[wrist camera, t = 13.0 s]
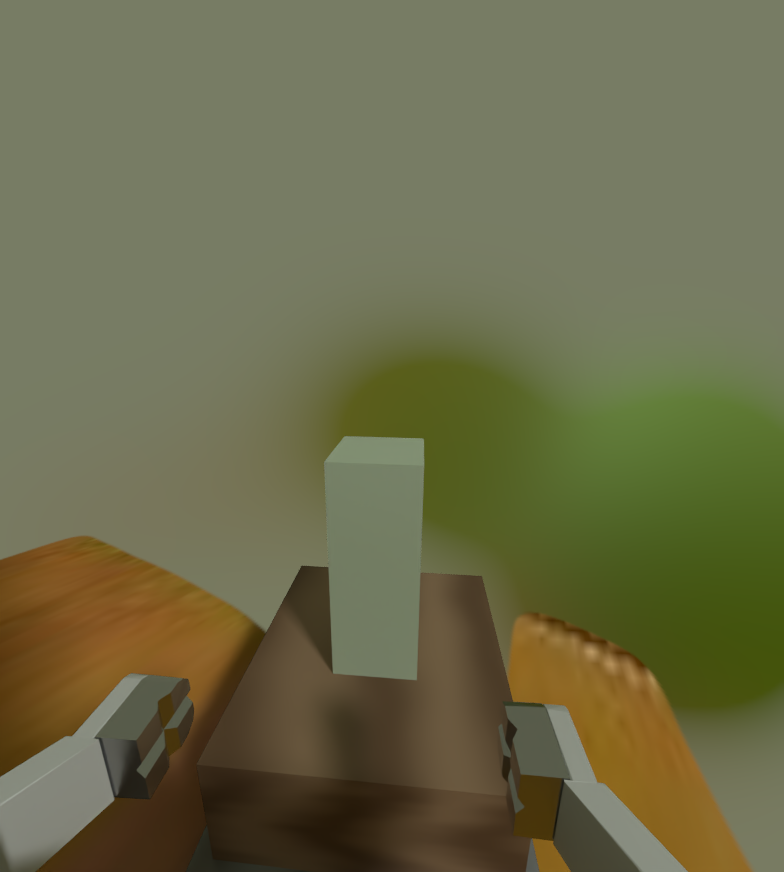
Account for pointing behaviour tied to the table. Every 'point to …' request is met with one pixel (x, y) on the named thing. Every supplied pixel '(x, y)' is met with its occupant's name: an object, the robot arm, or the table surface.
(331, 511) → the pillar
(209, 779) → the base
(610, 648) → the table surface
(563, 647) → the table surface
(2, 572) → the table surface
